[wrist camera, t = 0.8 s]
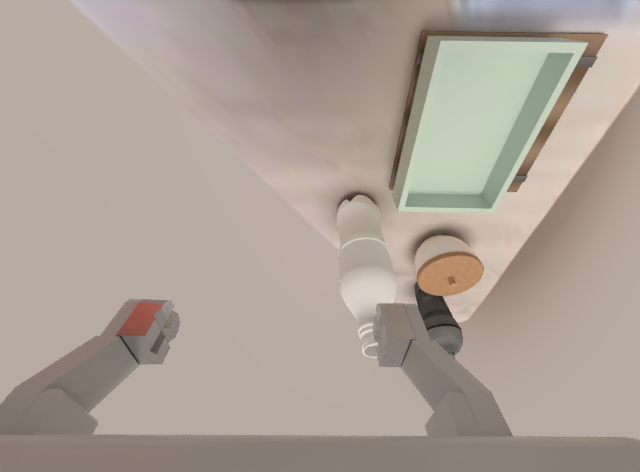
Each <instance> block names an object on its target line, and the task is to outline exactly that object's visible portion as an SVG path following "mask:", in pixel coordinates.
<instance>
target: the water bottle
mask: <svg viewBox="0 0 640 472" xmlns="http://www.w3.org/2000/svg"><path fill="white" fill-rule="evenodd" d="M336 220H337V227H338V230H339V233H340V240H341V246H340V252H339V269H340V283H339V287H340V293H341V295H342V298H343V300H344V302H345V303H346V305H347V306H348V308H349V309H350V311H351V312H352V313H353V315H354V316H355V318H356V319H357V321H358V324H359V328H358V334H359V336H360V339H361V341H362V344H361V346H362V350H363V354H364V355H365V356H368V357H373V358H378V357H377V352H376V349H377V345H378V343H377V342H376V341H375V340H374V336H373V318H374V316H375V315H376V306H377V304H378V303H394V300H395V297H396V293H397V279H396V277H395V275H394V271H393V267H392V263H391V259H390V255H389V249H388V246H387V245H386V243H385V241H384V239H383V235H382V231H381V214H380V211H379V208H378V206H377V205H376V204H375V203H373V202H372V200H371V199H369V198H368V197H366V196H364V195H356V196H355V197H354V198H353V199H352V200H351V201H348V200H347V199H346V200H344V201H343V202H342V203H341V205H340V207H339V209H338V211H337V217H336Z"/></svg>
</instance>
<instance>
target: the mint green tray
mask: <svg viewBox="0 0 640 472" xmlns="http://www.w3.org/2000/svg"><path fill="white" fill-rule="evenodd" d="M587 45H588V43H587V42H581V41H576V40H570V39H564V38H550V37H481V36H428V37H427V41H426V45H425V50H424V54H423V59H422V63H421V68H420V72H419V77H418V81H417V86H416V90H415V95H414V99H413V104H412V108H411V113H410V117H409V122H408V126H407V131H406V135H405V140H404V144H403V149H402V153H401V158H400V162H399V167H398V171H397V176H396V180H395V185H394V189H393V194H392V196H393V199H394V202H395V205H396V208H397V211H399V212H448V213H495V212H496V210H497V208H498V206H499V204H500V202H501V201H502V199H503V197H504V195H505V193H506V192H507V190H508V188H509V186H510V184H511V183H512V181H513V179H514V177H515V175H516V173H517V172H518V170H519V168H520V166H521V164H522V163H523V161H524V159H525V157H526V155H527V154H528V152H529V150H530V148H531V146H532V144H533V143H534V141H535V139H536V137H537V135H538V134H539V132H540V130H541V128H542V126H543V125H544V123H545V121H546V119H547V117H548V116H549V114H550V112H551V110H552V108H553V106H554V105H555V103H556V101H557V99H558V97H559V96H560V94H561V92H562V90H563V88H564V87H565V85H566V83H567V81H568V79H569V77H570V76H571V74H572V72H573V70H574V68H575V67H576V65H577V63H578V61H579V59H580V58H581V56H582V54H583V52H584V50H585V48H586V47H587Z"/></svg>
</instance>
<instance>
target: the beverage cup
mask: <svg viewBox="0 0 640 472" xmlns="http://www.w3.org/2000/svg"><path fill="white" fill-rule="evenodd" d="M414 287H415V294H416V299H417V304H418V309H419V311H420V314H421V316H422V319H423V322H424V324H425V327H426V329H427V332H428V335H429V337H430V340H435V341H436V342H437V343H438V344H439V345H440V346H441V347H442V348H443V349H445V350H446V351H447V352H448V353H449V354H450V355H451V356H452V357H453V358H454V359H455V357H454V355H455V354H457V353H458V352H459V350H460V349H461V347H462V343H463V337H462V332H461V328H460V327H459V325H458V324H457V322H456V321H455V319H454V318H453V316H452V314H451V312H450V310H449V308H448V306H447V304H446V302H445V300H444V298H443V296H436V295H431V294H428V293H426V292H424V291H423V290H422V289H421V288H420V287H419V285H418V282H417V283H416V284H415V286H414Z"/></svg>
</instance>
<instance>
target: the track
mask: <svg viewBox="0 0 640 472" xmlns="http://www.w3.org/2000/svg"><path fill="white" fill-rule="evenodd" d="M428 36H481V37H550V38H564V39H570V40H576V41H581V42H587V43H588V45H587V47H586V48H585V50H584V52H583V54H582V56H581V58H580V59H579V61H578V63H577V65H576V67H575V68H574V70H573V72H572V74H571V76H570V77H569V79H568V81H567V83H566V85H565V87H564V88H563V90H562V92H561V94H560V96H559V97H558V99H557V101H556V103H555V105H554V106H553V108H552V110H551V112H550V114H549V116H548V117H547V119H546V121H545V123H544V125H543V126H542V128H541V130H540V132H539V134H538V135H537V137H536V139H535V141H534V143H533V144H532V146H531V148H530V150H529V152H528V154H527V155H526V157H525V159H524V161H523V163H522V164H521V166H520V168H519V170H518V172H517V173H516V175H515V177H514V179H513V181H512V183H511V184H510V186H509V188H508V190H507V192H517V190H518V189H519V187H520V185H521V184H522V182H524V181H525V180H526V178H527V173H528V172H529V170H530V168H531V166H532V165H533V163H534V161H535V160H536V158H537V156H538V154H539V153H540V151H541V149H542V148H543V146H544V144H545V142H546V141H547V139H548V137H549V135H550V134H551V132H552V130H553V129H554V127H555V125H556V123H557V122H558V120H559V118H560V117H561V115H562V113H563V111H564V110H565V108H566V106H567V105H568V103H569V101H570V99H571V98H572V96H573V94H574V93H575V91H576V89H577V87H578V86H579V84H580V82H581V80H582V79H583V77H584V75H585V74H586V72H587V70H588V68H589V67H592V65H593V64H594V62H595V60H596V59H597V57H596V55H597V53H598V51H599V50H600V48H601V46H602V44H603V43H604V41H605V39H606V38H607V36H608V34H592V33H522V32H452V31H422V32H421V36H420V41H419V46H418V51H417V56H416V60H415V65H414V70H413V75H412V80H411V84H410V89H409V94H408V99H407V104H406V108H405V113H404V118H403V123H402V127H401V132H400V137H399V142H398V147H397V151H396V156H395V161H394V166H393V171H392V175H391V180H390V185H389V188H390V190H393V189H394V185H395V180H396V176H397V171H398V167H399V162H400V158H401V153H402V149H403V144H404V140H405V135H406V131H407V126H408V122H409V117H410V113H411V108H412V104H413V99H414V95H415V90H416V86H417V81H418V77H419V72H420V68H421V63H422V59H423V54H424V50H425V45H426V41H427V37H428Z"/></svg>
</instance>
